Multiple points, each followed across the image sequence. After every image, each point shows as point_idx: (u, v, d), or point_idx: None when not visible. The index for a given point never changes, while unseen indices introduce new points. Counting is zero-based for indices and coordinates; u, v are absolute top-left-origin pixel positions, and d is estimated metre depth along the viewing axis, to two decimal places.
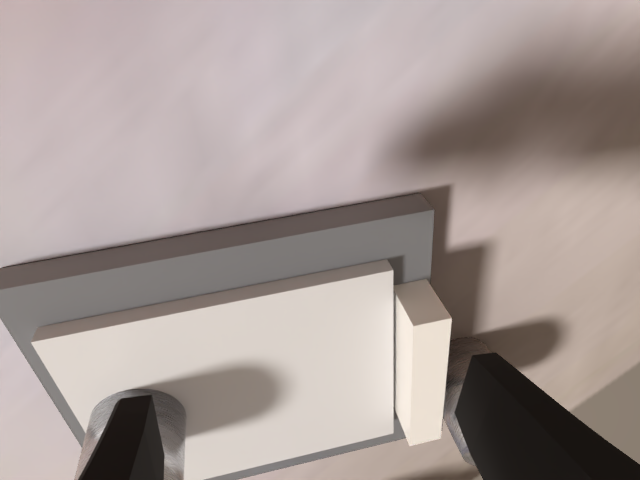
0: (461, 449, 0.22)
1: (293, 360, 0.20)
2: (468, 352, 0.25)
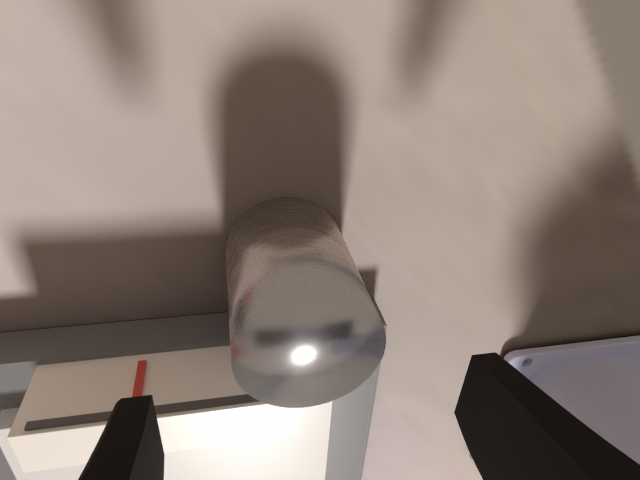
0: (308, 404, 0.13)
1: None
2: (226, 270, 0.15)
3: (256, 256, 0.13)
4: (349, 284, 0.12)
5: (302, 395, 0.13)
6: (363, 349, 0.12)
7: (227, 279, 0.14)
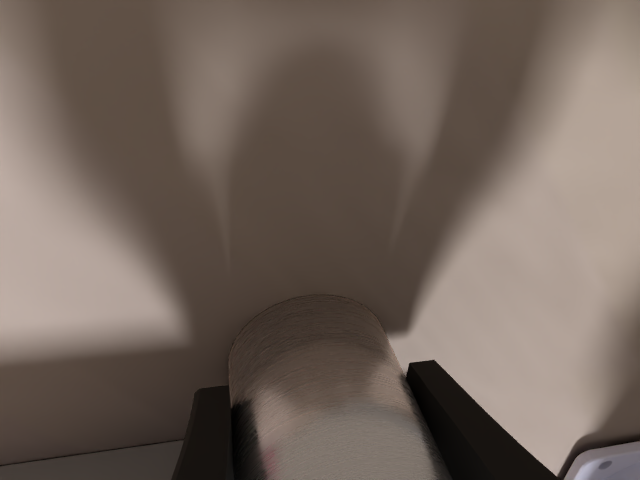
0: None
1: None
2: (230, 402, 0.10)
3: (276, 411, 0.08)
4: (427, 479, 0.07)
5: None
6: None
7: (232, 425, 0.10)
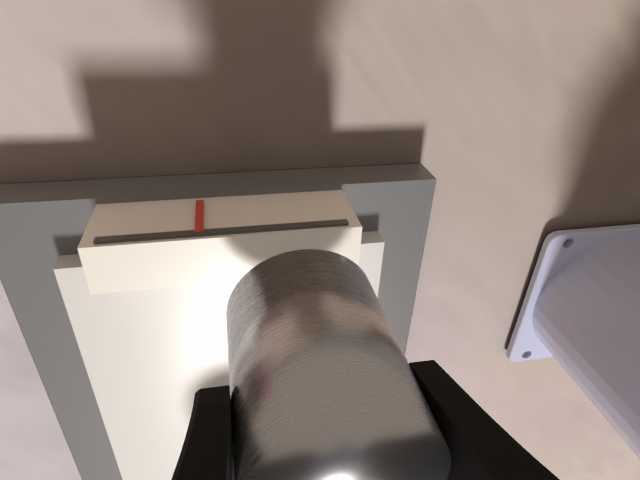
0: None
1: (195, 357, 0.18)
2: (227, 342, 0.11)
3: (274, 341, 0.09)
4: (408, 398, 0.08)
5: None
6: None
7: (230, 359, 0.10)
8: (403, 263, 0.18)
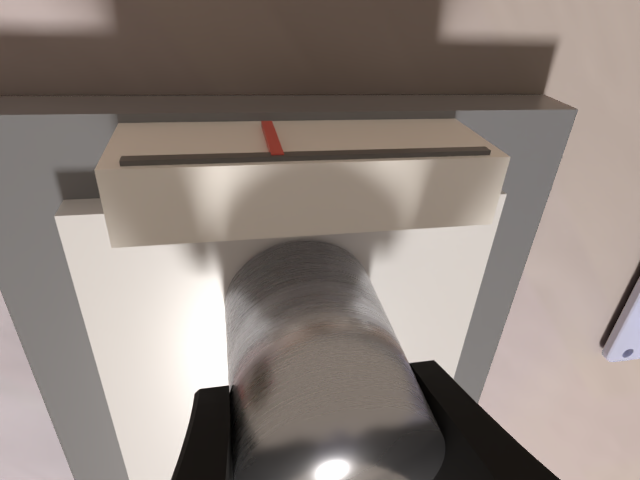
0: None
1: None
2: (226, 329, 0.11)
3: (276, 328, 0.09)
4: (407, 387, 0.08)
5: None
6: (411, 471, 0.09)
7: (229, 346, 0.10)
8: (515, 228, 0.14)
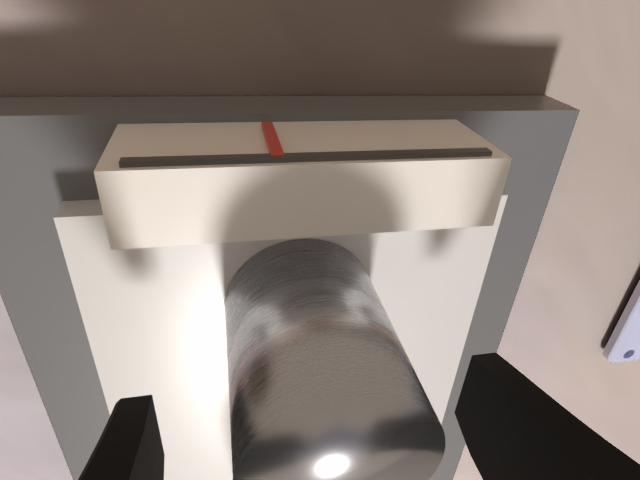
0: None
1: None
2: (226, 327, 0.11)
3: (275, 322, 0.09)
4: (406, 380, 0.08)
5: None
6: (412, 464, 0.09)
7: (229, 343, 0.11)
8: (516, 229, 0.14)
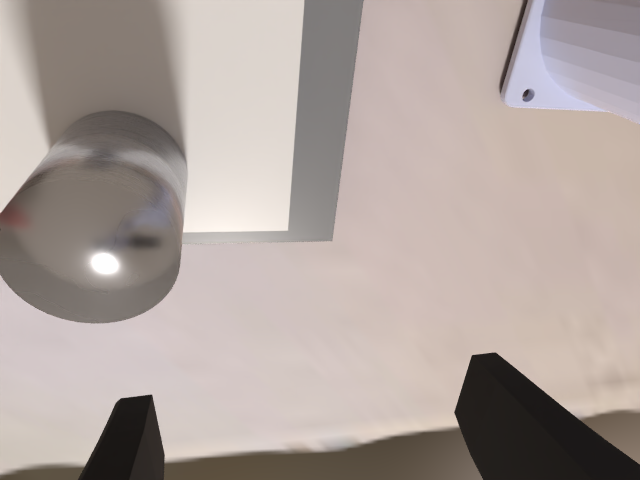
0: None
1: None
2: None
3: None
4: None
5: None
6: None
7: None
8: None
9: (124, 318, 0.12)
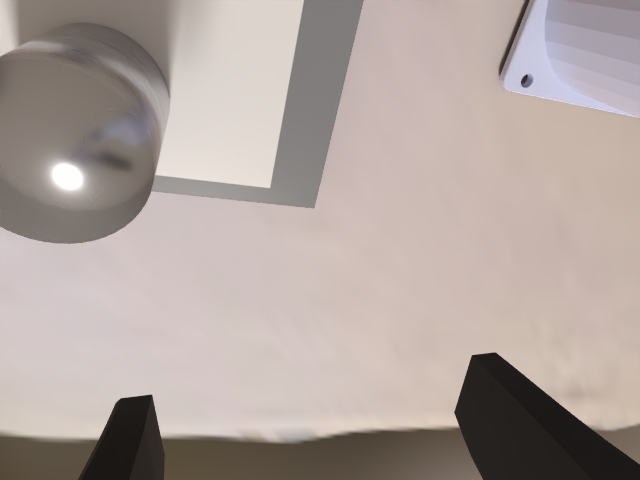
0: None
1: None
2: None
3: None
4: None
5: None
6: None
7: None
8: None
9: (82, 240, 0.11)
